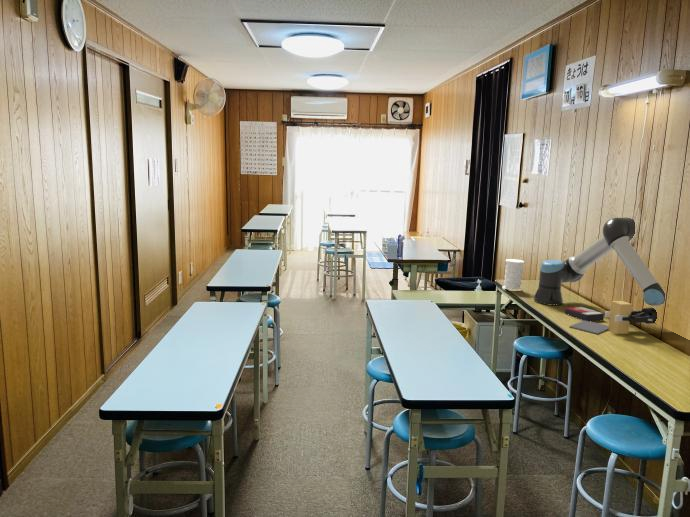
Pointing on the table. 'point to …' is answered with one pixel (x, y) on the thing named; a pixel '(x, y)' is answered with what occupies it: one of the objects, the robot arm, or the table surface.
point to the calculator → (585, 314)
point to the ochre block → (619, 309)
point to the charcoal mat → (590, 327)
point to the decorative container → (513, 274)
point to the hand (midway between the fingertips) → (610, 316)
